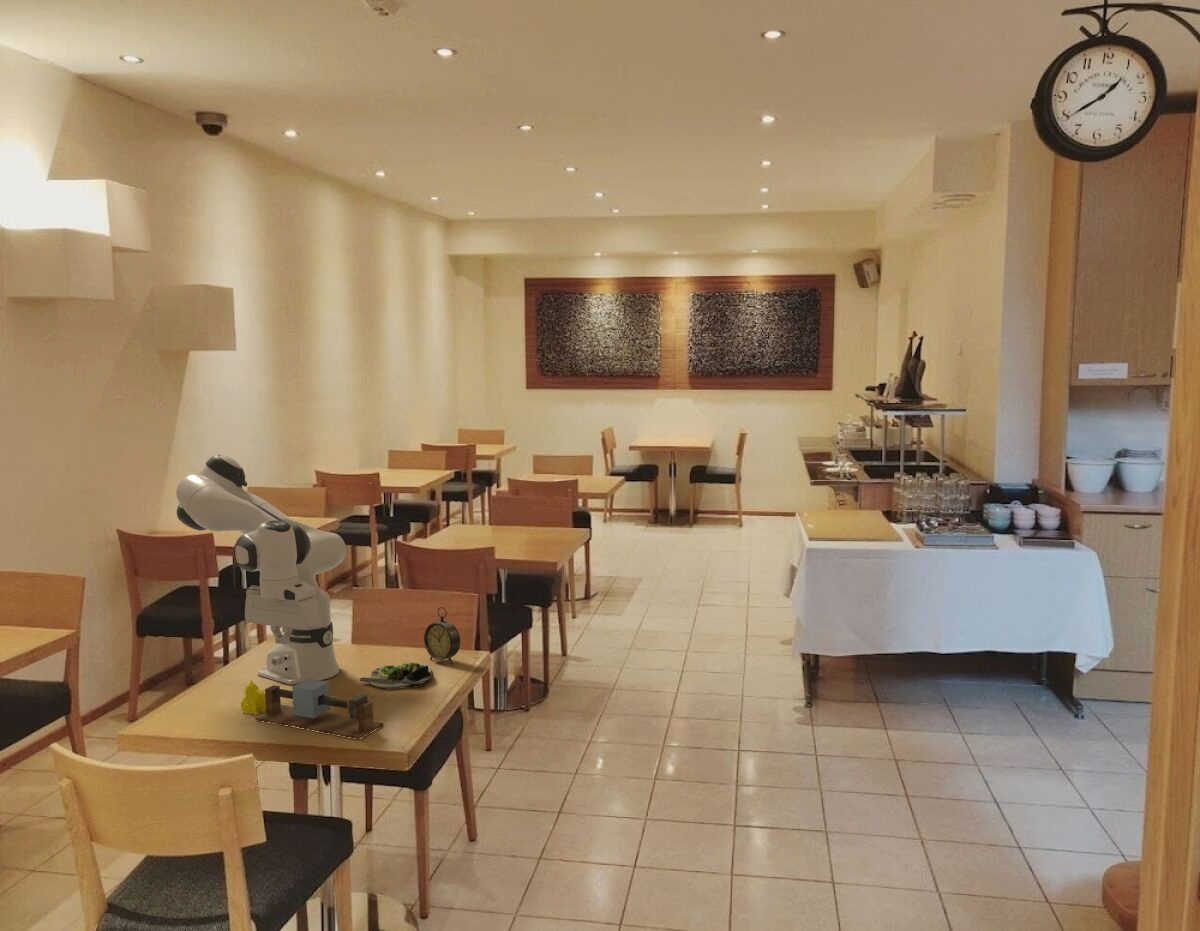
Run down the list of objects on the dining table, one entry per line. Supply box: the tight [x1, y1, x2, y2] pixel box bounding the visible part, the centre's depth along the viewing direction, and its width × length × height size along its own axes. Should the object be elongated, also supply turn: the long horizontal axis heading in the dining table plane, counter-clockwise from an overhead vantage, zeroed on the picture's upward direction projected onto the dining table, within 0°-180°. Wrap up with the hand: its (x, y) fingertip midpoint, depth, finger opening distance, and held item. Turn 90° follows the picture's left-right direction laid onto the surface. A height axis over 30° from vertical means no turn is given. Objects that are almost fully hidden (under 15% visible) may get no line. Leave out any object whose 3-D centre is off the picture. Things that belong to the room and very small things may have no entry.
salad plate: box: [359, 662, 433, 690], centre depth 256 cm, size 19×18×5 cm
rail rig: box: [255, 684, 384, 740], centre depth 226 cm, size 31×9×8 cm, turn 67°
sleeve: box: [291, 679, 331, 718], centre depth 227 cm, size 6×6×7 cm
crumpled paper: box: [240, 679, 266, 714], centre depth 236 cm, size 6×8×8 cm
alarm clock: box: [423, 606, 461, 665], centre depth 270 cm, size 11×5×16 cm, turn 55°
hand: (282, 643), depth 228 cm, fingers closed
